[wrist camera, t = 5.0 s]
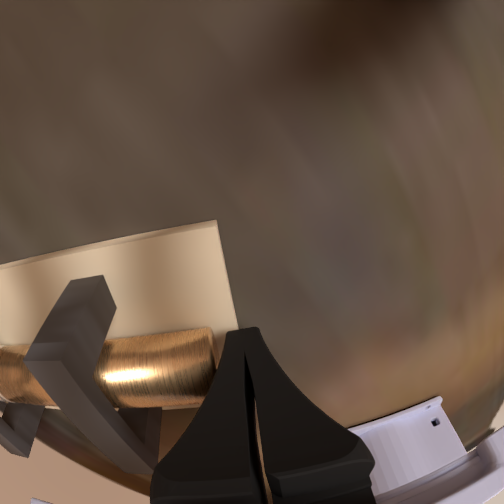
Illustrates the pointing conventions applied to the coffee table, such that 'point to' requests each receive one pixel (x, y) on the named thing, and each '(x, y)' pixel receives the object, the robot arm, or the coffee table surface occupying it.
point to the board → (138, 282)
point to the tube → (130, 371)
